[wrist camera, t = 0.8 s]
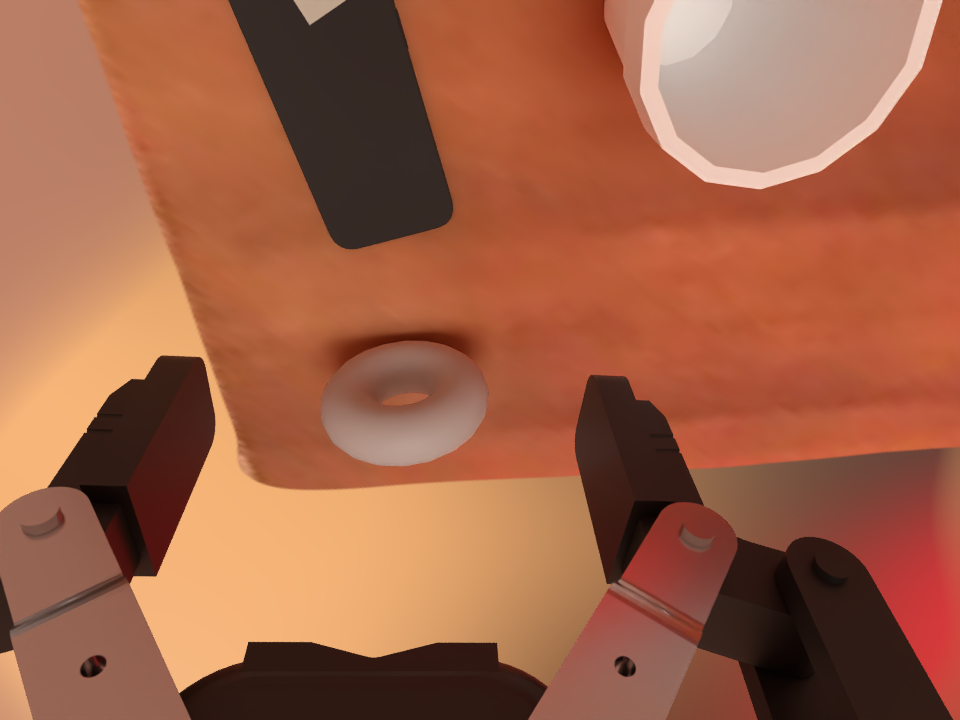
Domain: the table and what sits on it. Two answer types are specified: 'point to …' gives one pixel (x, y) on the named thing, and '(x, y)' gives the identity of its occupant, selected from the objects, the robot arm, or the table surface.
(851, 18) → the foam cup
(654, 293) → the table surface
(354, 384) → the donut
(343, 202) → the phone
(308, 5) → the mat
